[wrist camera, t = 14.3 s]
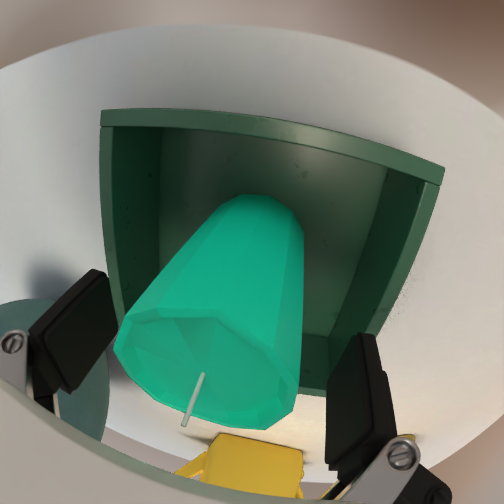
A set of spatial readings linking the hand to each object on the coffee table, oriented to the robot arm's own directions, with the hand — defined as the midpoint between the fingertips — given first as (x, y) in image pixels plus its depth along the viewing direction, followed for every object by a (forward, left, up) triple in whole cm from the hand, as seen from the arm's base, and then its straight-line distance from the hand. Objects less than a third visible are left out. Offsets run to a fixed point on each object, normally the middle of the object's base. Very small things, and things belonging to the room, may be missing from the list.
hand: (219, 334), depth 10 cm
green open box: (0, 0, -9) cm, 9 cm away
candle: (0, 0, -8) cm, 8 cm away
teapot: (+35, +4, -9) cm, 36 cm away
